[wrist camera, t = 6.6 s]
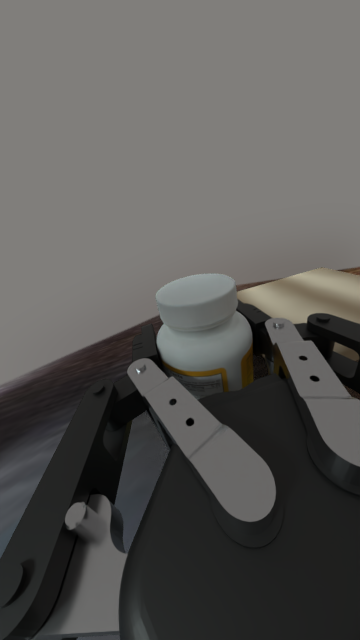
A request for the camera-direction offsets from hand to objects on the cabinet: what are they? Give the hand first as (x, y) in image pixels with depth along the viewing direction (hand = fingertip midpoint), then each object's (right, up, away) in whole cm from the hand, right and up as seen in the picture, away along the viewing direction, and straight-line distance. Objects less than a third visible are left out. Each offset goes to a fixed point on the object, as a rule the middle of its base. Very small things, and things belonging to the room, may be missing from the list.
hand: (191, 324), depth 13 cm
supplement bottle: (+2, -6, +1) cm, 7 cm away
